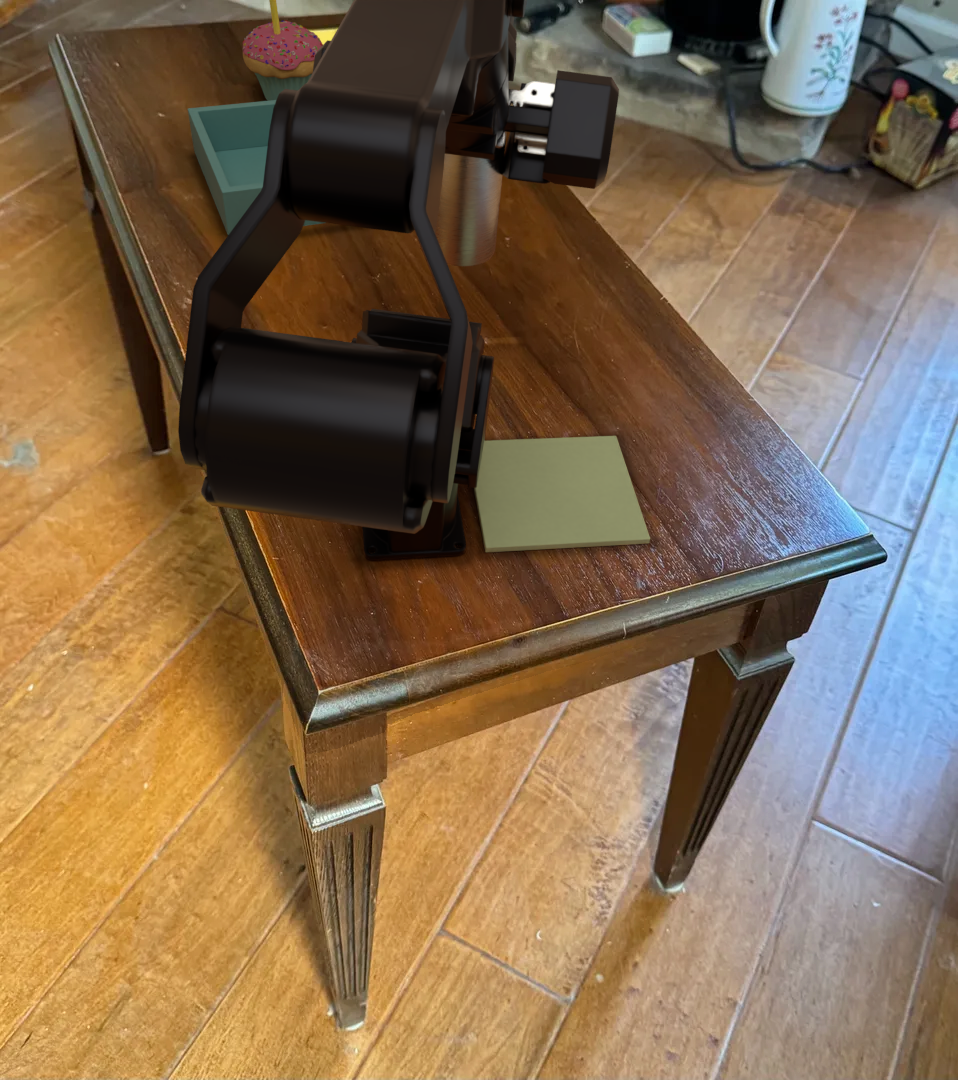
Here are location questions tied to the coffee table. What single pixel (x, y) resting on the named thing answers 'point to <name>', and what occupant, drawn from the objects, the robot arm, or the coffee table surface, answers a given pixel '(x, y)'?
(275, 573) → the coffee table surface
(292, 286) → the coffee table surface
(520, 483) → the placemat
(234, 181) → the teal open box
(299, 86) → the cupcake
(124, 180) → the coffee table surface
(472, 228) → the bottle
